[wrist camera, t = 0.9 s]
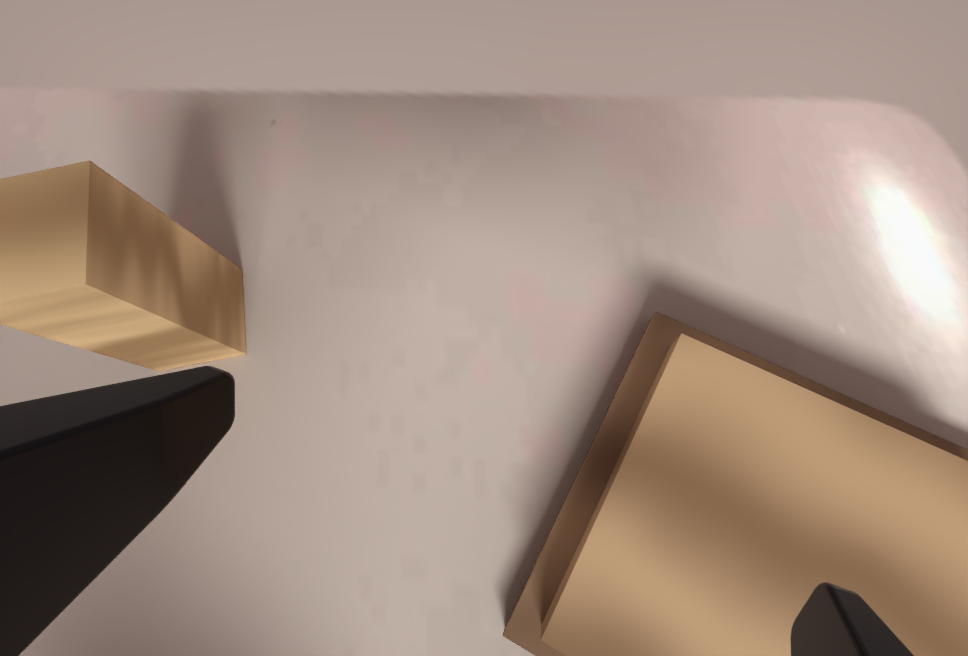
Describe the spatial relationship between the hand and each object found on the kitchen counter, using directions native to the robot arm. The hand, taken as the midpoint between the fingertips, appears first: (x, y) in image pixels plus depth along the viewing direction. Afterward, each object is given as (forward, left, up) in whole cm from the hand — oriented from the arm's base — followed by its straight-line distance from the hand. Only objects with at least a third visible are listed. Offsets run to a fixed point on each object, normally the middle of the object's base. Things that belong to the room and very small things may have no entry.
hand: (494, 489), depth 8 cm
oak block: (0, +16, -14) cm, 21 cm away
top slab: (+2, -8, -13) cm, 15 cm away
